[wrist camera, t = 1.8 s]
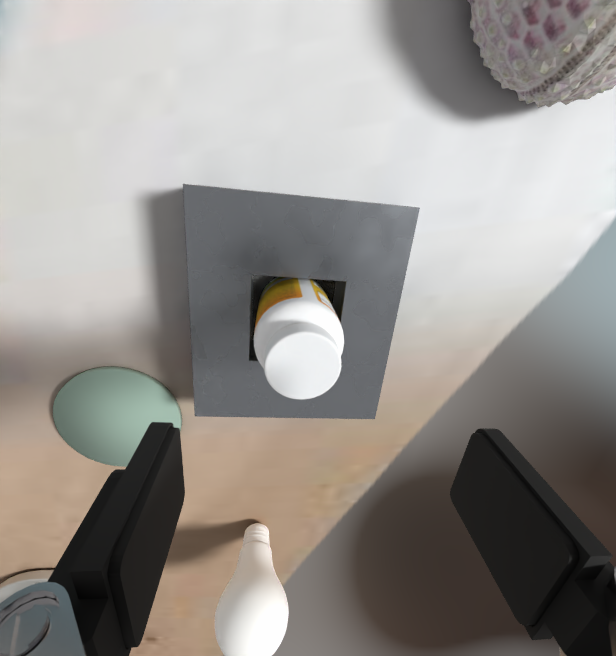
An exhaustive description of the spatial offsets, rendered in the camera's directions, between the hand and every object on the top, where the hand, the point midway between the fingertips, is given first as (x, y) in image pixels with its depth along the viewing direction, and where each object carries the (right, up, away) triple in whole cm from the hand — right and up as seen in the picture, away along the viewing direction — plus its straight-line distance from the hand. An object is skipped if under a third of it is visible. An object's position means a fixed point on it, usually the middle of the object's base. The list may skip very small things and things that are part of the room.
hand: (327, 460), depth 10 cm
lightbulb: (-6, -17, +24) cm, 30 cm away
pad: (-17, -3, +17) cm, 24 cm away
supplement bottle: (-2, +6, +15) cm, 16 cm away
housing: (-2, +6, +15) cm, 16 cm away
